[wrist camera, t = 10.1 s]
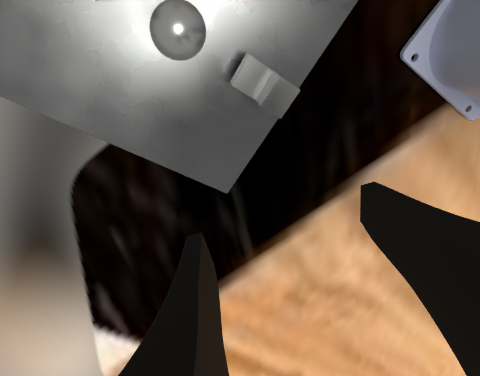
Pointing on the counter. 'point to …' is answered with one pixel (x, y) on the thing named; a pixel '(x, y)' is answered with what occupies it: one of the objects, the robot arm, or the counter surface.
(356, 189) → the counter surface
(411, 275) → the robot arm
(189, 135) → the base
